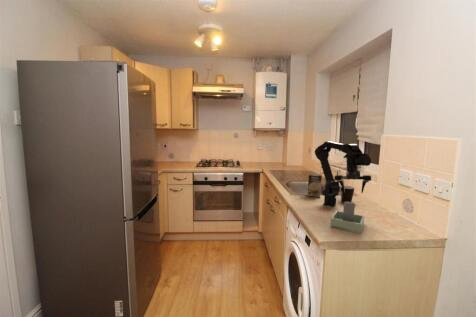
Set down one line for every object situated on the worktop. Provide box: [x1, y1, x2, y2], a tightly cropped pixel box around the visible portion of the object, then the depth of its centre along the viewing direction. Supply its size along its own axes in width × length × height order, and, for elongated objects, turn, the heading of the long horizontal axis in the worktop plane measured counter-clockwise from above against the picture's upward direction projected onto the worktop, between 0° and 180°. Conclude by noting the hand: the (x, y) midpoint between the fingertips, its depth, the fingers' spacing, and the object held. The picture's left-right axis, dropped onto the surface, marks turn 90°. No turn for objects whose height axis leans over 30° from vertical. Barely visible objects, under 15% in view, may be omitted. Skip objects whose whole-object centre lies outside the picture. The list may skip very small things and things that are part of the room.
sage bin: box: [330, 210, 365, 234], centre depth 118 cm, size 14×14×4 cm
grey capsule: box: [342, 201, 356, 222], centre depth 117 cm, size 5×5×11 cm
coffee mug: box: [340, 185, 355, 203], centre depth 160 cm, size 12×9×10 cm
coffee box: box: [306, 173, 323, 198], centre depth 170 cm, size 9×6×16 cm
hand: (353, 192), depth 134 cm, fingers open, 9 cm apart
